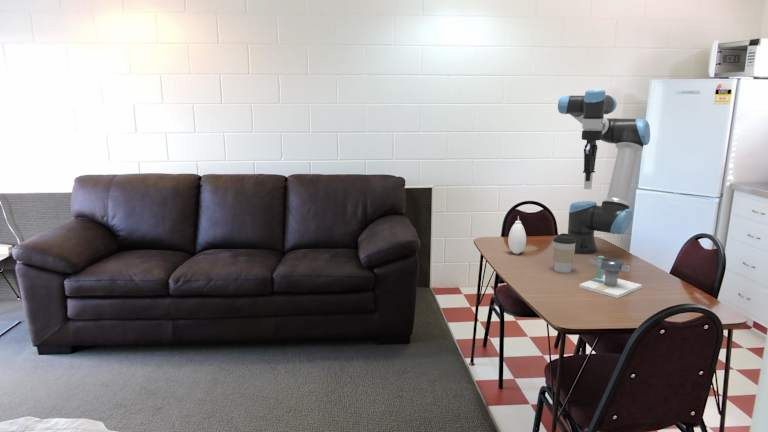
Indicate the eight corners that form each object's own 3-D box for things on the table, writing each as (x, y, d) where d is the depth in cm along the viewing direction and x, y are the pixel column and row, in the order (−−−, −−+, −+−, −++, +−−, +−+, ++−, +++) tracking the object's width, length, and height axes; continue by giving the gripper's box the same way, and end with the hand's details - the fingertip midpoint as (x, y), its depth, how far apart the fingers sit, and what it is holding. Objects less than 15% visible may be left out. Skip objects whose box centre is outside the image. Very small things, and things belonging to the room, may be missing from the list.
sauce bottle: (516, 256, 240) (518, 218, 236) (504, 252, 247) (506, 215, 243) (528, 254, 244) (531, 216, 240) (516, 250, 251) (518, 213, 247)
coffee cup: (575, 274, 215) (578, 238, 212) (552, 272, 217) (554, 237, 214) (572, 267, 224) (574, 233, 221) (550, 266, 226) (552, 232, 222)
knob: (633, 270, 196) (634, 262, 195) (624, 275, 191) (624, 267, 190) (595, 262, 206) (595, 254, 206) (585, 266, 202) (586, 258, 201)
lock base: (604, 277, 211) (606, 253, 208) (641, 287, 199) (644, 262, 197) (579, 287, 200) (581, 261, 198) (617, 298, 188) (619, 271, 186)
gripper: (598, 130, 201) (593, 191, 206) (605, 129, 212) (600, 187, 217) (578, 130, 205) (574, 190, 210) (586, 128, 216) (582, 186, 221)
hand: (587, 188), depth 213 cm, fingers closed
